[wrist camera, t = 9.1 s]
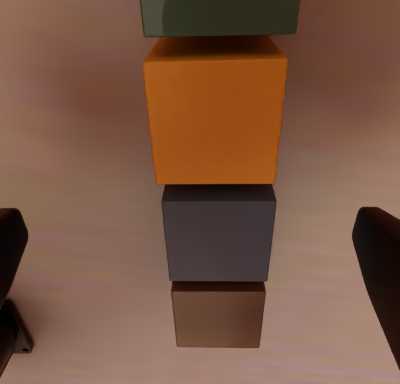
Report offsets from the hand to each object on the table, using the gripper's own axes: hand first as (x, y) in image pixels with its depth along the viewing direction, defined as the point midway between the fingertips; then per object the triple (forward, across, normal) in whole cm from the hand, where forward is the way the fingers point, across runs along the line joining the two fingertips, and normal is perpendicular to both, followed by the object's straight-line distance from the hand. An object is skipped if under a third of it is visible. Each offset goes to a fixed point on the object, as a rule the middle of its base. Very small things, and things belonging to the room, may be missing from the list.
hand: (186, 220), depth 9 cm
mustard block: (+10, -1, 0) cm, 10 cm away
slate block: (+10, -1, +5) cm, 11 cm away
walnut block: (+10, -1, +11) cm, 15 cm away
